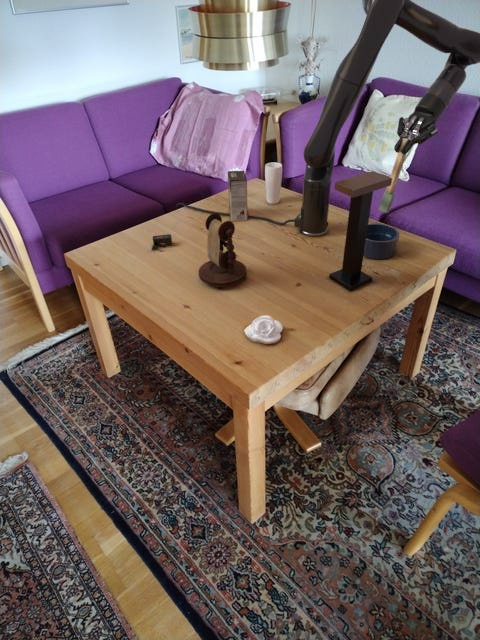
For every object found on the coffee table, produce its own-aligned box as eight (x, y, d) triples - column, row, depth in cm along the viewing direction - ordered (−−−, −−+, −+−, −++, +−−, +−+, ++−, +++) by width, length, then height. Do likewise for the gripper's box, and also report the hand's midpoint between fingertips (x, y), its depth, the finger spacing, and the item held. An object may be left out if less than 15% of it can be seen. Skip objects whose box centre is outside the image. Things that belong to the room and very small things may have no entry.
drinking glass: (280, 205, 188) (281, 168, 179) (263, 204, 189) (263, 167, 180) (282, 199, 193) (283, 162, 184) (266, 198, 195) (266, 161, 186)
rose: (272, 305, 126) (290, 325, 119) (272, 318, 128) (289, 338, 121) (238, 315, 123) (255, 336, 115) (238, 329, 125) (255, 350, 118)
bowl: (353, 257, 154) (355, 239, 150) (357, 239, 164) (359, 221, 160) (395, 262, 151) (399, 244, 147) (396, 243, 161) (399, 225, 157)
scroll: (190, 275, 148) (184, 215, 136) (229, 260, 154) (226, 202, 142) (216, 296, 138) (212, 234, 126) (256, 279, 145) (256, 219, 133)
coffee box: (228, 211, 185) (227, 170, 175) (245, 210, 185) (244, 169, 176) (230, 221, 178) (229, 179, 168) (247, 220, 178) (247, 178, 168)
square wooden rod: (404, 137, 140) (401, 137, 139) (413, 140, 138) (409, 139, 137) (380, 209, 151) (377, 209, 150) (388, 213, 149) (384, 213, 148)
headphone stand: (356, 266, 149) (370, 169, 131) (377, 279, 143) (395, 179, 125) (322, 280, 143) (332, 181, 125) (343, 294, 137) (356, 191, 118)
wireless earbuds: (151, 244, 164) (150, 236, 162) (171, 242, 165) (170, 234, 163) (152, 251, 161) (150, 242, 159) (172, 248, 162) (171, 240, 160)
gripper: (412, 88, 140) (376, 139, 142) (452, 96, 130) (413, 150, 132) (420, 105, 145) (386, 153, 147) (459, 113, 136) (422, 165, 138)
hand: (399, 151), depth 140 cm, fingers closed on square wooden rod, 2 cm apart
